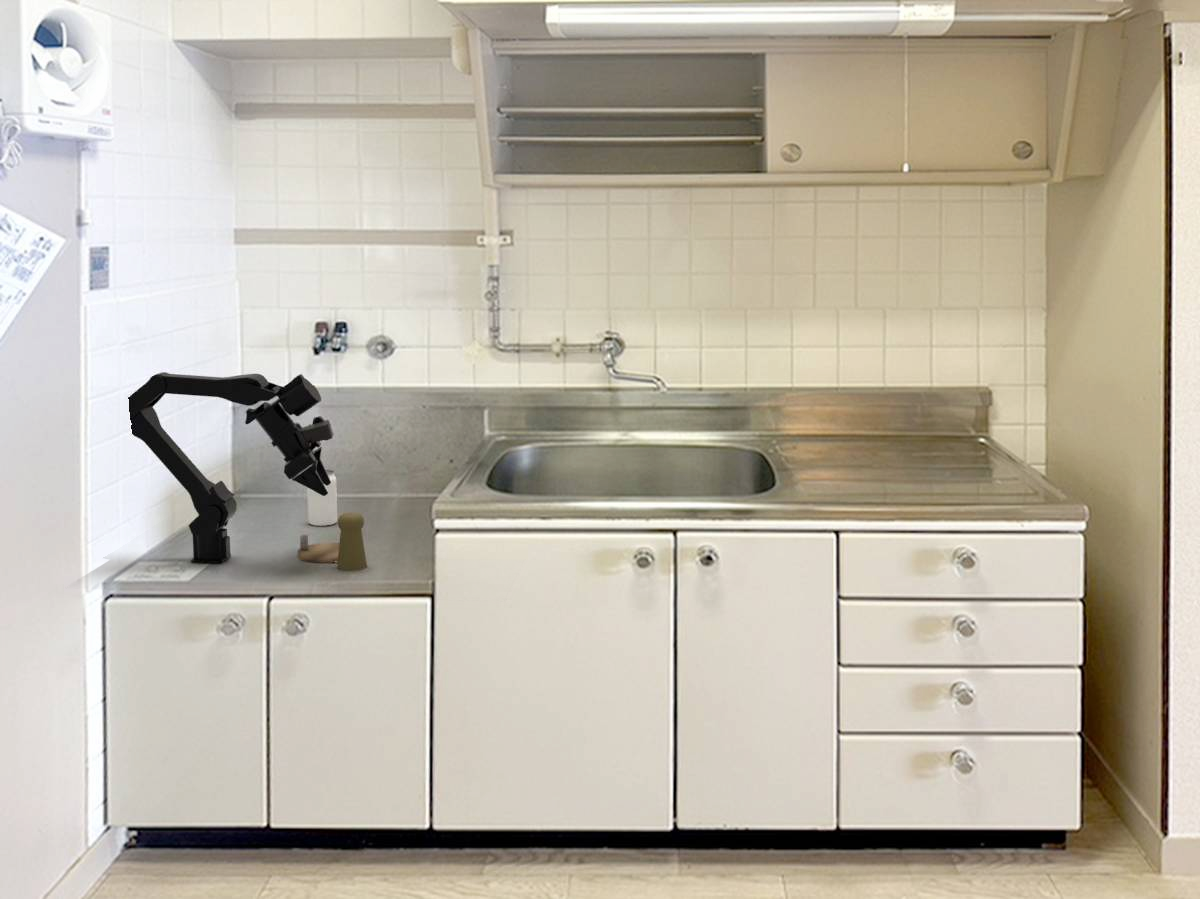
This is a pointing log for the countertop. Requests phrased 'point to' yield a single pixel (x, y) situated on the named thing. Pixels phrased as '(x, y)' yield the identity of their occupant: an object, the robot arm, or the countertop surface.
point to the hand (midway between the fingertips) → (327, 489)
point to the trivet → (317, 551)
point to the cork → (351, 542)
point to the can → (323, 504)
